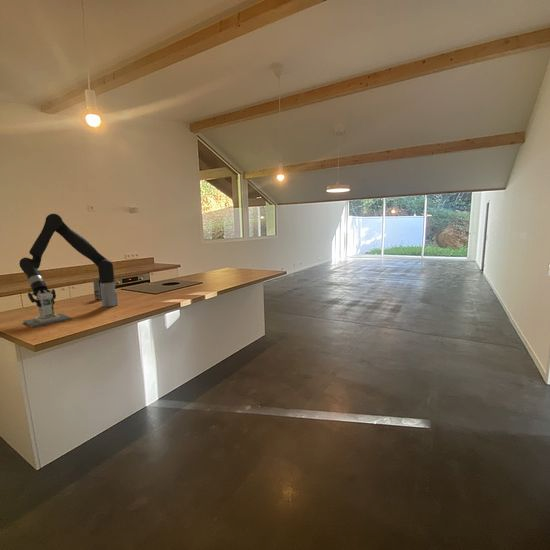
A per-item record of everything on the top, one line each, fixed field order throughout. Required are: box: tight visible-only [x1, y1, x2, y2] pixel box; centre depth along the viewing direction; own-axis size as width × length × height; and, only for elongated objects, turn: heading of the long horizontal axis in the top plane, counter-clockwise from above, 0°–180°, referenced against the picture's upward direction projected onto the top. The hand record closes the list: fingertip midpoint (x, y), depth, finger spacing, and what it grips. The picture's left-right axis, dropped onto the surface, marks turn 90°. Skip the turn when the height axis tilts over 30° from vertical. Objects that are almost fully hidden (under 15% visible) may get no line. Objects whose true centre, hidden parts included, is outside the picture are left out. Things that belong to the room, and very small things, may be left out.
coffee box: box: [92, 278, 102, 301], centre depth 258 cm, size 9×6×16 cm
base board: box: [22, 313, 73, 328], centre depth 197 cm, size 20×18×3 cm
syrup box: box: [37, 292, 55, 318], centre depth 196 cm, size 6×6×14 cm
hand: (46, 305), depth 195 cm, fingers closed on syrup box, 6 cm apart
